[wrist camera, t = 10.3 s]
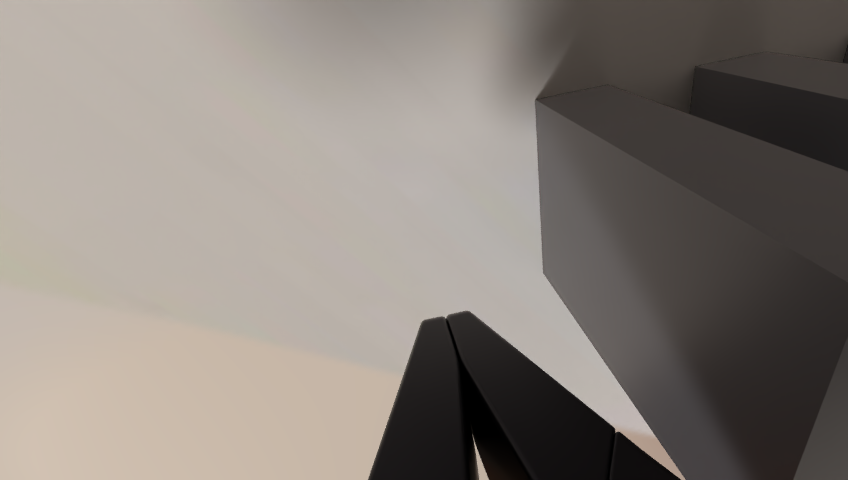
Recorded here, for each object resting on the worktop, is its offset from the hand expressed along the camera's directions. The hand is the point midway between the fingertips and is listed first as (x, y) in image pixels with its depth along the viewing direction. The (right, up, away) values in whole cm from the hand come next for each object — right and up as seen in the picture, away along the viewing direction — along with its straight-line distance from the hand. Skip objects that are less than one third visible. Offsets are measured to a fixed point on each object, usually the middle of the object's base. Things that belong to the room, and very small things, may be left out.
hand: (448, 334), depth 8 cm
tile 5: (+3, +3, +4) cm, 6 cm away
